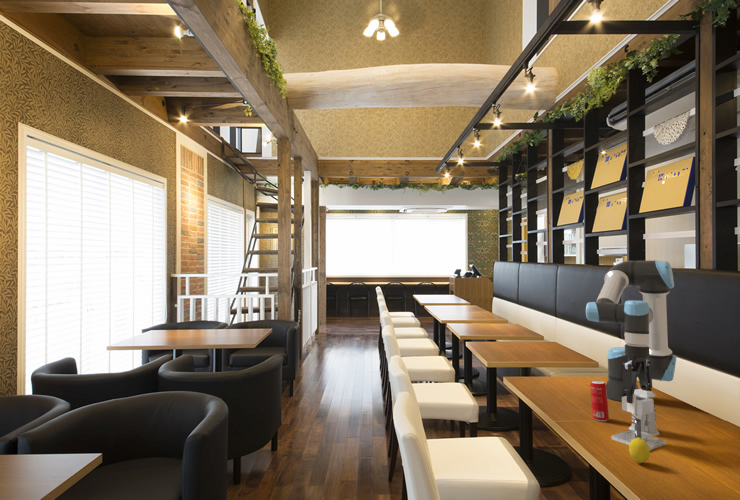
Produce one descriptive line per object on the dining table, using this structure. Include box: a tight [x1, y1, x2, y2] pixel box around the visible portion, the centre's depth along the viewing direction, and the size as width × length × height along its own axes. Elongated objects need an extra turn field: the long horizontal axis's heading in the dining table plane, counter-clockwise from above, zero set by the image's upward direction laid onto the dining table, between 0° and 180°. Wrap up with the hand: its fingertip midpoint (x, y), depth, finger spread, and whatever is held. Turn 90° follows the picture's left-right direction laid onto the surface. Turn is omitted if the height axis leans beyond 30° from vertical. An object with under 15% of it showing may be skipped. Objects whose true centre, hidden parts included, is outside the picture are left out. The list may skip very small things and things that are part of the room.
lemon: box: [628, 437, 651, 464], centre depth 137 cm, size 6×6×8 cm
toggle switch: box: [610, 419, 667, 451], centre depth 154 cm, size 12×12×8 cm
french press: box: [628, 388, 660, 437], centre depth 164 cm, size 10×12×25 cm
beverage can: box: [589, 379, 610, 422], centre depth 177 cm, size 6×6×15 cm
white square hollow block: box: [621, 395, 655, 416], centre depth 154 cm, size 7×7×4 cm
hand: (637, 410), depth 154 cm, fingers closed on white square hollow block, 7 cm apart
